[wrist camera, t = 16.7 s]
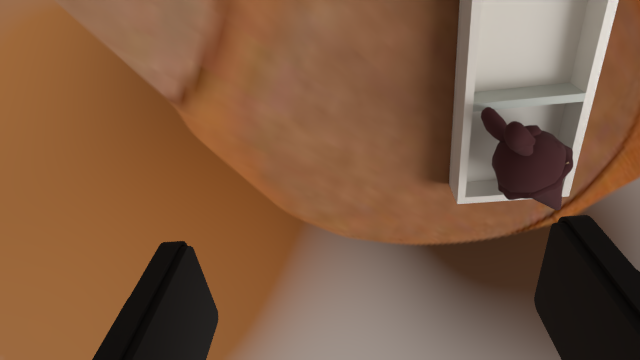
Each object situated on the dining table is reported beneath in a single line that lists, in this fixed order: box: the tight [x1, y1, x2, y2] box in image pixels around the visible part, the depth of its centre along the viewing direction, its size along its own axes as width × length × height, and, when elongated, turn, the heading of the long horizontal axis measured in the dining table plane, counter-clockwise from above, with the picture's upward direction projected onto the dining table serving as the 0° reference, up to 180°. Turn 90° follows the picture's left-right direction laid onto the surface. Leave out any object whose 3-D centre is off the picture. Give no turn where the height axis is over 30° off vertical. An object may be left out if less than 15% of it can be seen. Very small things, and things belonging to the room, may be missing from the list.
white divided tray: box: [449, 0, 619, 204], centre depth 39 cm, size 22×12×4 cm, turn 7°
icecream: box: [481, 107, 573, 210], centre depth 38 cm, size 7×7×15 cm
